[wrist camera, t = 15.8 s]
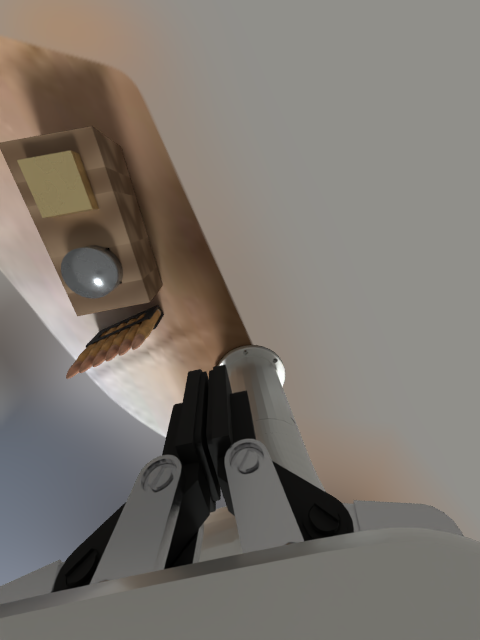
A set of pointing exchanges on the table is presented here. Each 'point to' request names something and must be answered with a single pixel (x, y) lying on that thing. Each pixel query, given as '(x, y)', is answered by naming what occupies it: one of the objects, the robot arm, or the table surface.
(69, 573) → the robot arm
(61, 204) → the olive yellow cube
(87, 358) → the ammunition clip
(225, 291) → the table surface
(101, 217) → the block
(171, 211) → the table surface
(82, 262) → the pin
